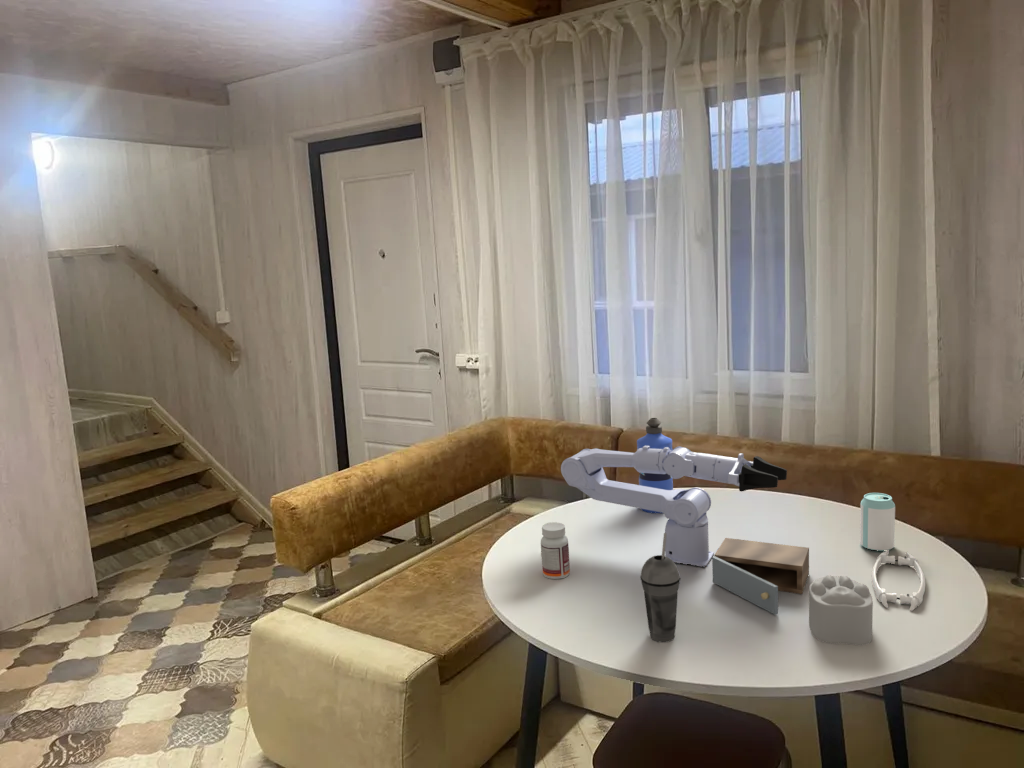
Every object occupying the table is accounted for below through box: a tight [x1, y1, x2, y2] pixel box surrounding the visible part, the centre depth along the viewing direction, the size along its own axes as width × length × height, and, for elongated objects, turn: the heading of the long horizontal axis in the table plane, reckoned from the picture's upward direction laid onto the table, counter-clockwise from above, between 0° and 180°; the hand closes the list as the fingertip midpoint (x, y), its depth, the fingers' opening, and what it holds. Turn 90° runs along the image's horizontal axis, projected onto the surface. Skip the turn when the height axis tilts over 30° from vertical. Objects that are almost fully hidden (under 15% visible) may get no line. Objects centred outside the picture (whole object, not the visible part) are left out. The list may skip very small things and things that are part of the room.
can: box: [859, 492, 896, 552], centre depth 175 cm, size 7×7×12 cm
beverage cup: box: [639, 532, 682, 643], centre depth 142 cm, size 7×7×20 cm
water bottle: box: [636, 417, 674, 514], centre depth 209 cm, size 9×9×25 cm
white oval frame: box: [871, 550, 926, 612], centre depth 158 cm, size 3×10×25 cm
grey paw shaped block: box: [808, 574, 874, 646], centre depth 142 cm, size 10×13×9 cm
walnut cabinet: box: [714, 537, 810, 595], centre depth 164 cm, size 18×10×6 cm, turn 62°
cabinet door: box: [711, 555, 779, 615], centre depth 155 cm, size 18×2×6 cm, turn 27°
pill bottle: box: [540, 521, 571, 580], centre depth 172 cm, size 6×6×11 cm
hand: (782, 478), depth 162 cm, fingers open, 7 cm apart
